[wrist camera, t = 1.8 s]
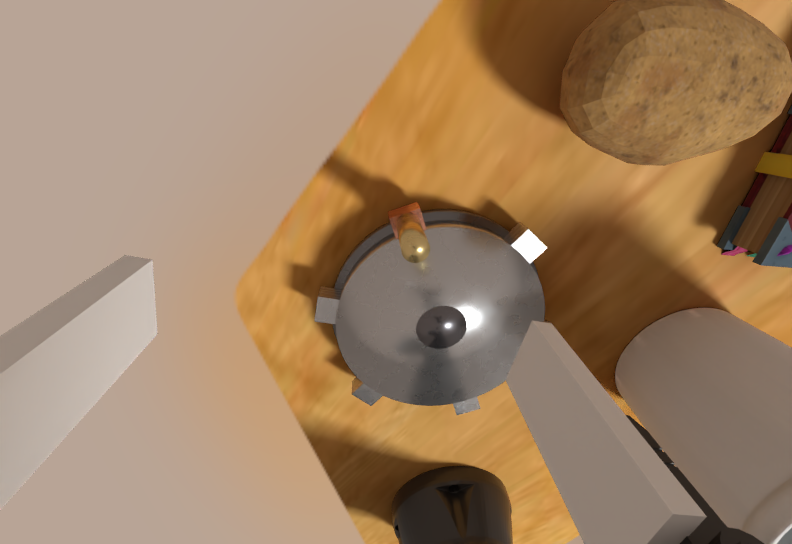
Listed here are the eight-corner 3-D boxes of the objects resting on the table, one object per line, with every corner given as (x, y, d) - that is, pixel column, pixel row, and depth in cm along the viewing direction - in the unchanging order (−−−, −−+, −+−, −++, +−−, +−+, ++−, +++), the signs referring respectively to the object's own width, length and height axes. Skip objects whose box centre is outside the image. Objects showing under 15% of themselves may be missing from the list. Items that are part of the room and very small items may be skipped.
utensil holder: (581, 400, 41) (716, 592, 25) (657, 285, 35) (898, 443, 19) (689, 420, 43) (872, 605, 27) (776, 317, 37) (1075, 478, 21)
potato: (678, 166, 30) (777, 189, 22) (515, 143, 28) (565, 159, 21) (743, 25, 26) (889, -2, 18) (556, -12, 24) (636, -59, 17)
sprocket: (432, 429, 39) (443, 491, 33) (277, 333, 33) (255, 388, 27) (594, 297, 33) (646, 343, 27) (445, 147, 27) (468, 162, 20)
